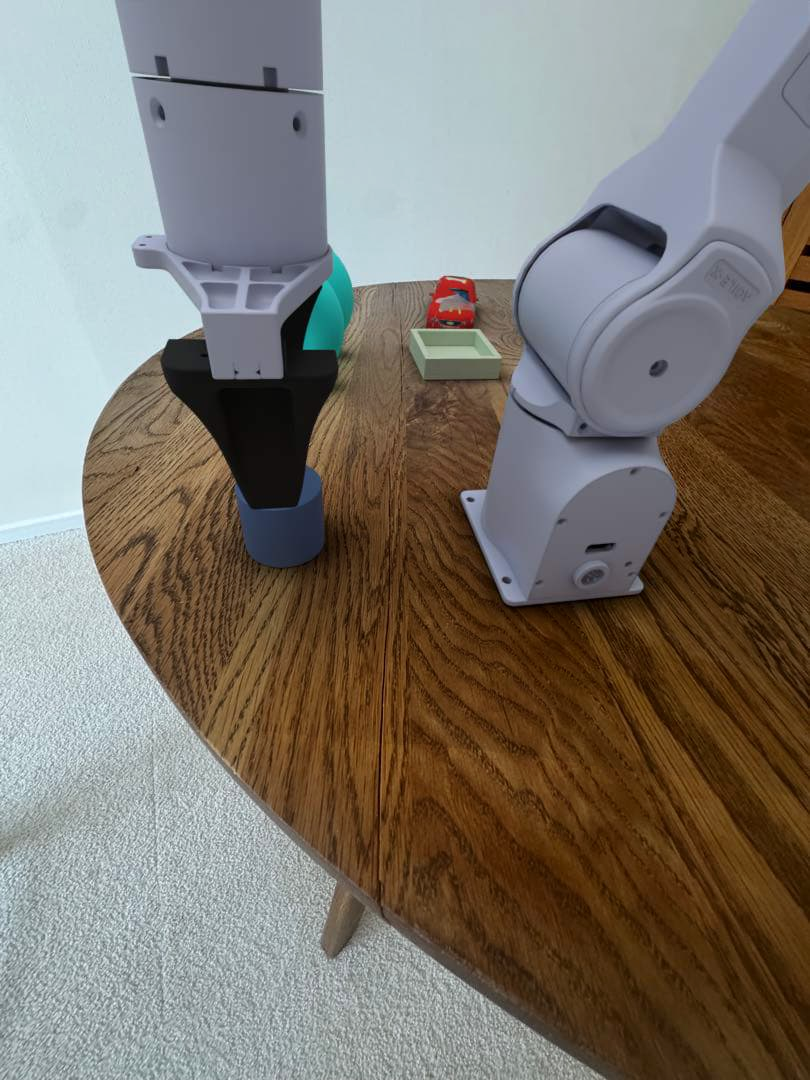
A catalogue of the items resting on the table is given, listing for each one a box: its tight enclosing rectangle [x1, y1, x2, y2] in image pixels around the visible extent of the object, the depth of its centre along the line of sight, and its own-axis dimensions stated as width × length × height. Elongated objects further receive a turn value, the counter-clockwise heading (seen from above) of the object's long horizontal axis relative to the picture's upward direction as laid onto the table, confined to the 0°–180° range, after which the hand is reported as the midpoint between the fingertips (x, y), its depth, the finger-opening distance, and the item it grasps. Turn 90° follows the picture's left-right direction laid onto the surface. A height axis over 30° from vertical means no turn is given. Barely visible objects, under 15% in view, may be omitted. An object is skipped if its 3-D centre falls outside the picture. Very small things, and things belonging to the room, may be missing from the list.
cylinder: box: [234, 464, 326, 569], centre depth 27 cm, size 4×4×4 cm
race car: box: [425, 275, 480, 329], centre depth 57 cm, size 13×5×4 cm, turn 171°
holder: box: [408, 328, 503, 381], centre depth 48 cm, size 7×7×2 cm
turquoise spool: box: [303, 250, 355, 358], centre depth 42 cm, size 10×10×10 cm
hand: (274, 455), depth 25 cm, fingers open, 7 cm apart
